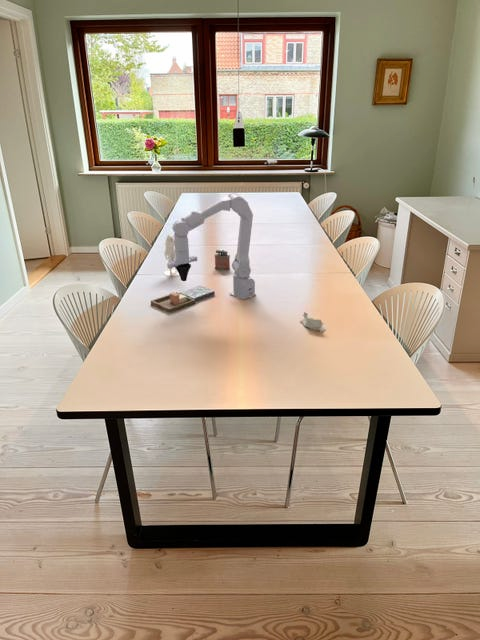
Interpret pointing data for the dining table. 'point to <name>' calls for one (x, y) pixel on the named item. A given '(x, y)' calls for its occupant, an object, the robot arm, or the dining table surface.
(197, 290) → the slate plate
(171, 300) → the tile
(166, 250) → the female figurine
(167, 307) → the box
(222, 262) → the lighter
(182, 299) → the tile
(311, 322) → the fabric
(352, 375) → the dining table surface
